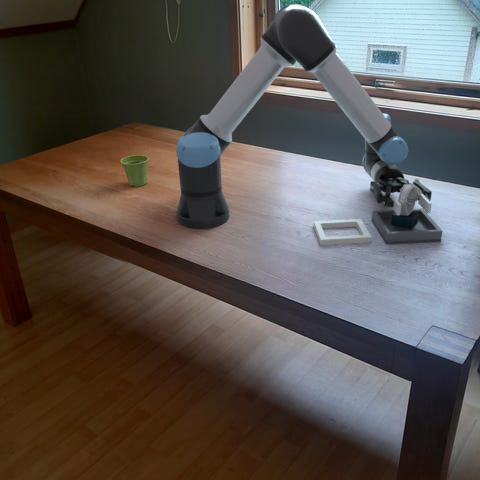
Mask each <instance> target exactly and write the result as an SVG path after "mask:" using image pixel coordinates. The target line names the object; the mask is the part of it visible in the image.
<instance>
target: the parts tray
mask: <svg viewBox="0 0 480 480" xmlns="http://www.w3.org/2000/svg"><path fill="white" fill-rule="evenodd" d="M394 212H395V211H394V210H393V209H389V210H387V209H385V210H384V209H383V210H372V212H371V213H372V214H371V222H372V224H373V225H374V227H375V228H376V230H377V232H378V233H379V235H380V237H381V238H382V240H383V242H384V243H385V245H400V244H419V243H423V244H424V243H436V242H437V243H439V242H440V243H441V242H442V236H443V230H442V229H441V228H440V226H439V225H438V224H437V223H436V222H435V221H434V220H433V218H432V217H431V216H430V215H429V213H427V212H426V211H425V210H424V209H423V208H422V207H421V208H413V210H412V212H417V213H419V215H418V223H417V225H416V226H415V227H414V228H413V229H412V230H409V229H405V228H401V227H397V226H393V225H391V220H392V214H393V213H394Z"/></svg>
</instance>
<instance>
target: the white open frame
mask: <svg viewBox="0 0 480 480" xmlns="http://www.w3.org/2000/svg"><path fill="white" fill-rule="evenodd" d="M350 227H351V228H353V227H356V229H357V230H358V232H359V235H357V234H356V235H336V236H335V235H334V236H326V234H325V232H324V230H323V229H335V228H350ZM313 229H314V230H315V234H316V237H317V239H318V242H319V244H320V246H327V245H329V246H330V245H346V244H347V245H348V244H364V243H372V236H371V234H370V232H369V230H368V229H367V226H366V225H365V223H364V221H363V220H362V218H353V219H352V218H350V219H332V220H330V219H329V220H314V221H313Z"/></svg>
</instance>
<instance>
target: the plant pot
mask: <svg viewBox="0 0 480 480" xmlns="http://www.w3.org/2000/svg"><path fill="white" fill-rule="evenodd" d="M149 158H150V157H148V156H147V155H143V154H134V155H128V156H126V157H122V158H121V159H120V164H122V167H123V170H124V171H125V175H126V178H127V183H128V185H129V186H130V187H133V186H134V187H138V188H139V187H142V186H144V185H146V184H147V183H148V164H149V160H150V159H149Z"/></svg>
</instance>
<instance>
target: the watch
mask: <svg viewBox="0 0 480 480" xmlns="http://www.w3.org/2000/svg"><path fill="white" fill-rule="evenodd" d="M398 194H399V195H398V198H397V200H398V201H399V203H400V204H401V212H400V215H397V214H396V213H395V212H394V213H393V214H392V220H391V225H393V226H397V227H401V228H405V229H409V230H412V229H413V228H414V227H415V226H416V225H417V223H418V215H419V213H417V212H412V210H413V209H415V208H414V207H415V205H416V203H418V198H419V196H420V194H421V190H420V189H419V188H418V187H417V186H415V185H413V184H404V185H403V187H402V189H400V193H398Z"/></svg>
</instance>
